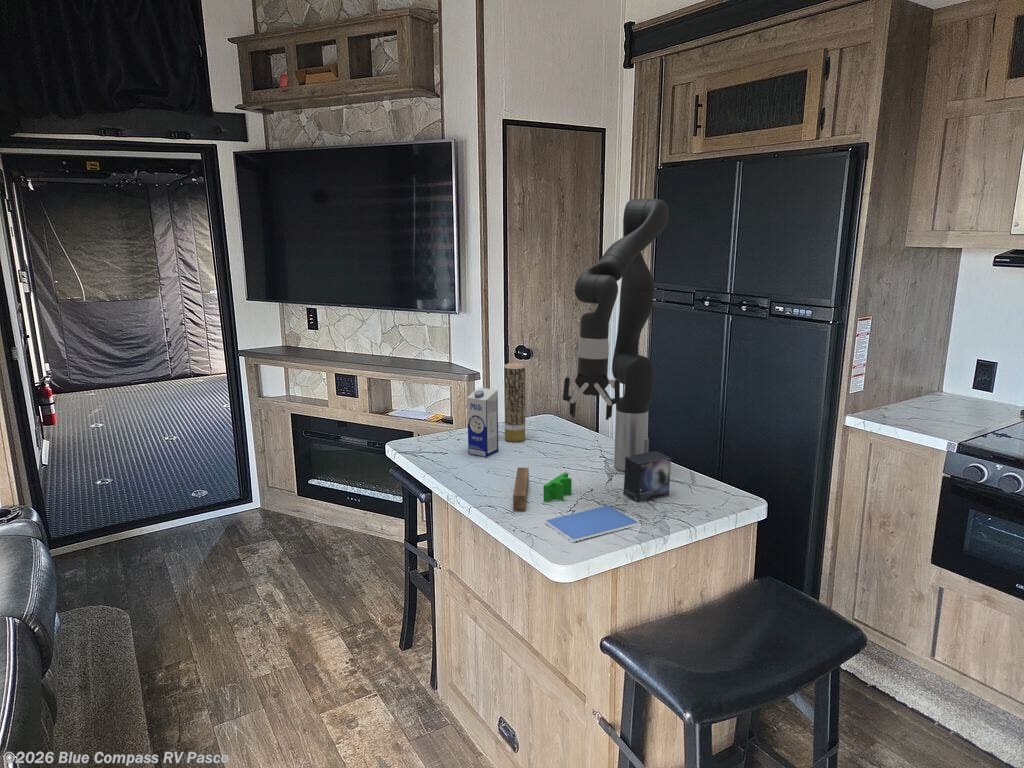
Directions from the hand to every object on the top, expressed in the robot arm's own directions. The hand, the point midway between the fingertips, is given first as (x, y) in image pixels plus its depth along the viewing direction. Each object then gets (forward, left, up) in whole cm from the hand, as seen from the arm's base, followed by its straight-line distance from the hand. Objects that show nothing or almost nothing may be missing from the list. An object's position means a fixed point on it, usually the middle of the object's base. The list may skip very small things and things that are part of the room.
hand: (590, 418), depth 173 cm
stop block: (+18, +2, -21) cm, 27 cm away
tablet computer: (0, +19, -21) cm, 28 cm away
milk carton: (+31, -32, -21) cm, 49 cm away
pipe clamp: (+8, +2, -21) cm, 22 cm away
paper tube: (+22, -46, -21) cm, 55 cm away
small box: (-15, 0, -21) cm, 26 cm away
